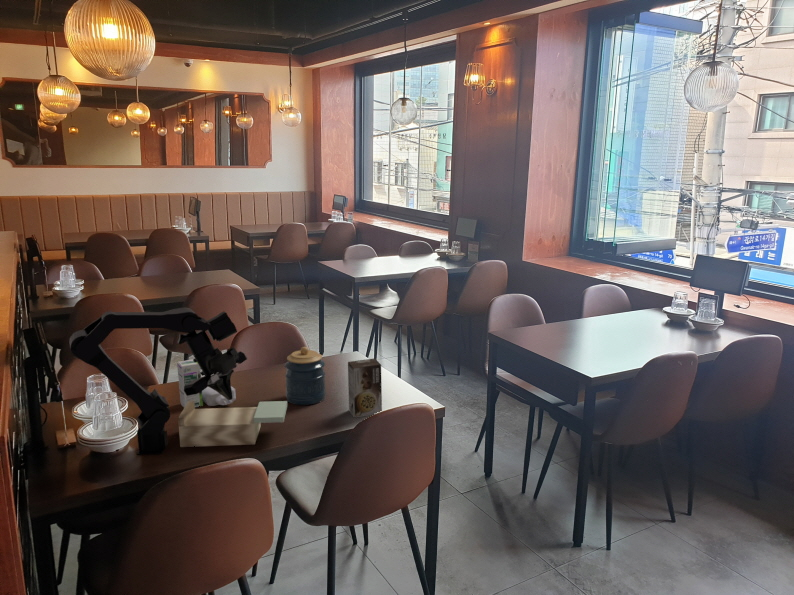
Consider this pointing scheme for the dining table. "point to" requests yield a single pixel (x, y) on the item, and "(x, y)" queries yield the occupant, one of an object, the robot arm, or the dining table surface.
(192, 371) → the syrup box
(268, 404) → the pale green flat block
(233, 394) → the charger
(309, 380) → the canister
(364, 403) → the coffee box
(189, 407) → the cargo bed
